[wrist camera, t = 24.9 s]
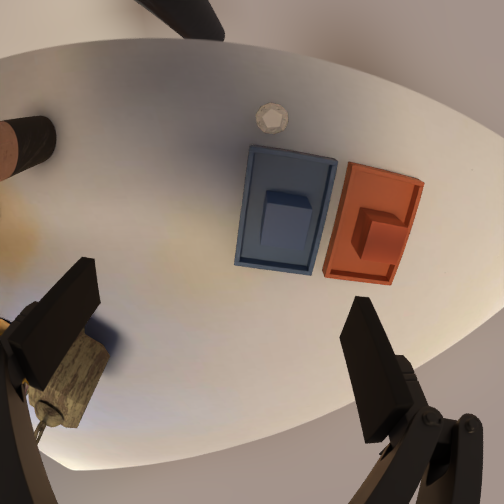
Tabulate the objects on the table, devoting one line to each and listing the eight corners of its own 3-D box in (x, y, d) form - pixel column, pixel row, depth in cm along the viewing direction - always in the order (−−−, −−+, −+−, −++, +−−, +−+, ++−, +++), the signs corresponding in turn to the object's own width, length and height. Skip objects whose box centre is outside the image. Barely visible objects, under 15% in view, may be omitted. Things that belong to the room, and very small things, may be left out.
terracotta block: (359, 206, 37) (372, 220, 32) (393, 213, 37) (408, 228, 33) (350, 242, 39) (360, 260, 35) (383, 247, 39) (396, 265, 35)
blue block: (266, 190, 37) (266, 202, 32) (306, 196, 37) (313, 209, 32) (260, 228, 39) (259, 245, 34) (299, 233, 39) (303, 251, 34)
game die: (250, 124, 34) (249, 125, 31) (266, 97, 32) (266, 96, 29) (277, 138, 34) (278, 141, 32) (292, 112, 33) (295, 112, 30)
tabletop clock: (80, 302, 46) (6, 412, 24) (123, 329, 48) (65, 450, 26) (67, 347, 52) (13, 441, 30) (104, 369, 54) (59, 470, 32)
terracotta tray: (348, 161, 35) (352, 164, 33) (417, 179, 35) (424, 182, 33) (322, 270, 42) (324, 277, 40) (386, 278, 42) (391, 285, 40)
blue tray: (250, 144, 35) (249, 146, 33) (334, 158, 35) (338, 161, 33) (235, 258, 41) (233, 265, 40) (309, 268, 42) (311, 275, 40)
